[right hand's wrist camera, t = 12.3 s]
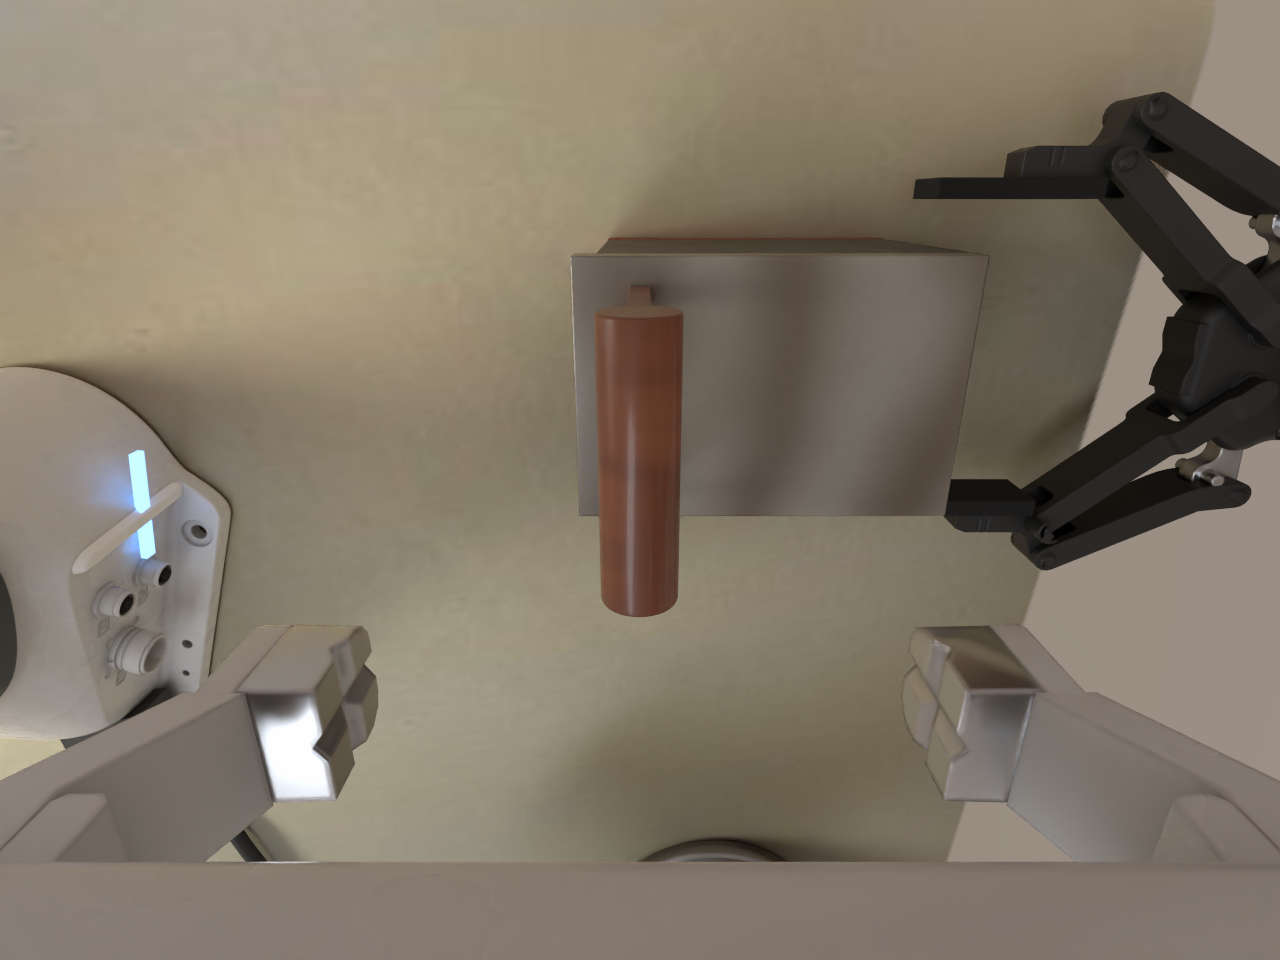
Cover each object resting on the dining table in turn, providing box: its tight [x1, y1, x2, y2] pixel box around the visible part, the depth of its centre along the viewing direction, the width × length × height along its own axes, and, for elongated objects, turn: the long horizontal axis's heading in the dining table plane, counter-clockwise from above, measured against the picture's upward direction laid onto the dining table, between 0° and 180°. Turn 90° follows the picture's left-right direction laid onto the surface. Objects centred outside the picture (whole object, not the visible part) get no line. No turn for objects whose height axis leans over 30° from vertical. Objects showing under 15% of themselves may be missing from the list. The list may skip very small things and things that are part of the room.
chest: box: [598, 238, 970, 253], centre depth 32 cm, size 13×10×11 cm
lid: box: [570, 253, 989, 617], centre depth 22 cm, size 14×10×10 cm
